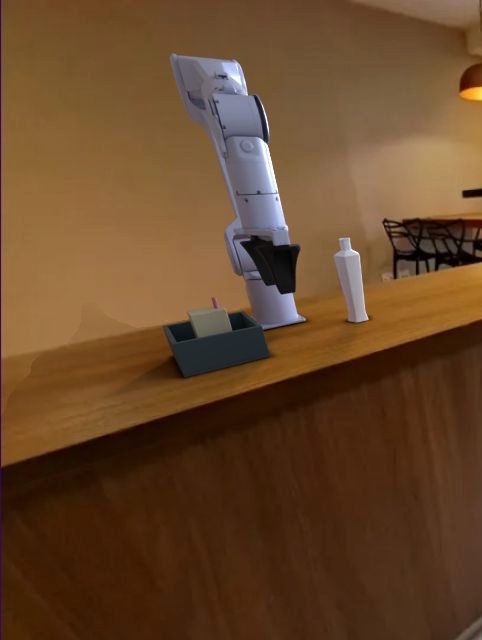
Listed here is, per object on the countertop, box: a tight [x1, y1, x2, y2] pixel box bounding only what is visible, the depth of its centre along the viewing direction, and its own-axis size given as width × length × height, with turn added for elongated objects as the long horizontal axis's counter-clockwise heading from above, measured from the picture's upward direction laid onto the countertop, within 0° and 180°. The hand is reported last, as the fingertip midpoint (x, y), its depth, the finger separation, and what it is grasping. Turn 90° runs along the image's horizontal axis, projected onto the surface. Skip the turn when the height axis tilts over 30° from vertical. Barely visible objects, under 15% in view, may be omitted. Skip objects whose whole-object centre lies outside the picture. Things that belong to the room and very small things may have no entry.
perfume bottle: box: [333, 237, 370, 324], centre depth 81 cm, size 5×4×15 cm
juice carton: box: [186, 296, 232, 338], centre depth 66 cm, size 4×4×9 cm
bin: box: [162, 310, 271, 379], centre depth 67 cm, size 11×11×5 cm
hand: (280, 288), depth 68 cm, fingers open, 7 cm apart
